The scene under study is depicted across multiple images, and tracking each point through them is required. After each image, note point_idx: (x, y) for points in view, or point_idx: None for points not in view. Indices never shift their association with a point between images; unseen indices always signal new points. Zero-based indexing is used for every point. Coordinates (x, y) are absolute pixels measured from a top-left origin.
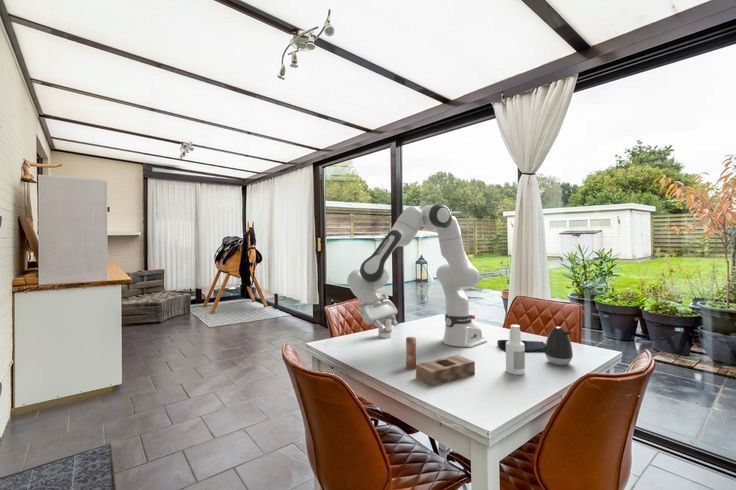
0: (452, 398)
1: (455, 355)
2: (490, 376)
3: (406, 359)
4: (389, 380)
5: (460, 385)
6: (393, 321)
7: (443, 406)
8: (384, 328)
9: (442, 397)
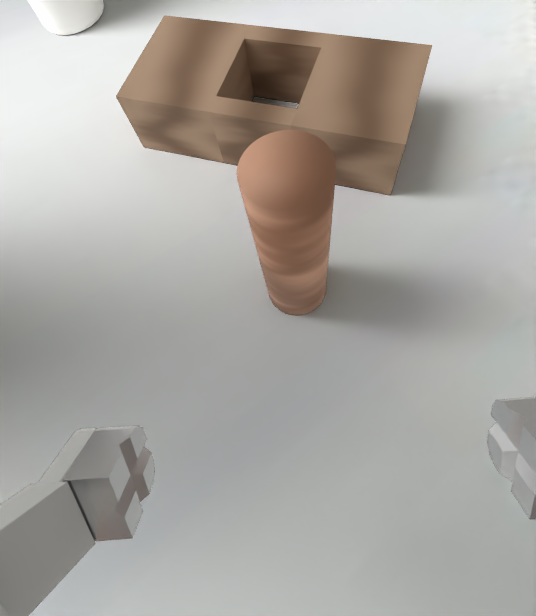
0: (438, 19)
1: (132, 98)
2: None
3: (322, 281)
4: (529, 260)
5: None
6: (67, 539)
7: (515, 6)
8: (518, 398)
9: (461, 39)
